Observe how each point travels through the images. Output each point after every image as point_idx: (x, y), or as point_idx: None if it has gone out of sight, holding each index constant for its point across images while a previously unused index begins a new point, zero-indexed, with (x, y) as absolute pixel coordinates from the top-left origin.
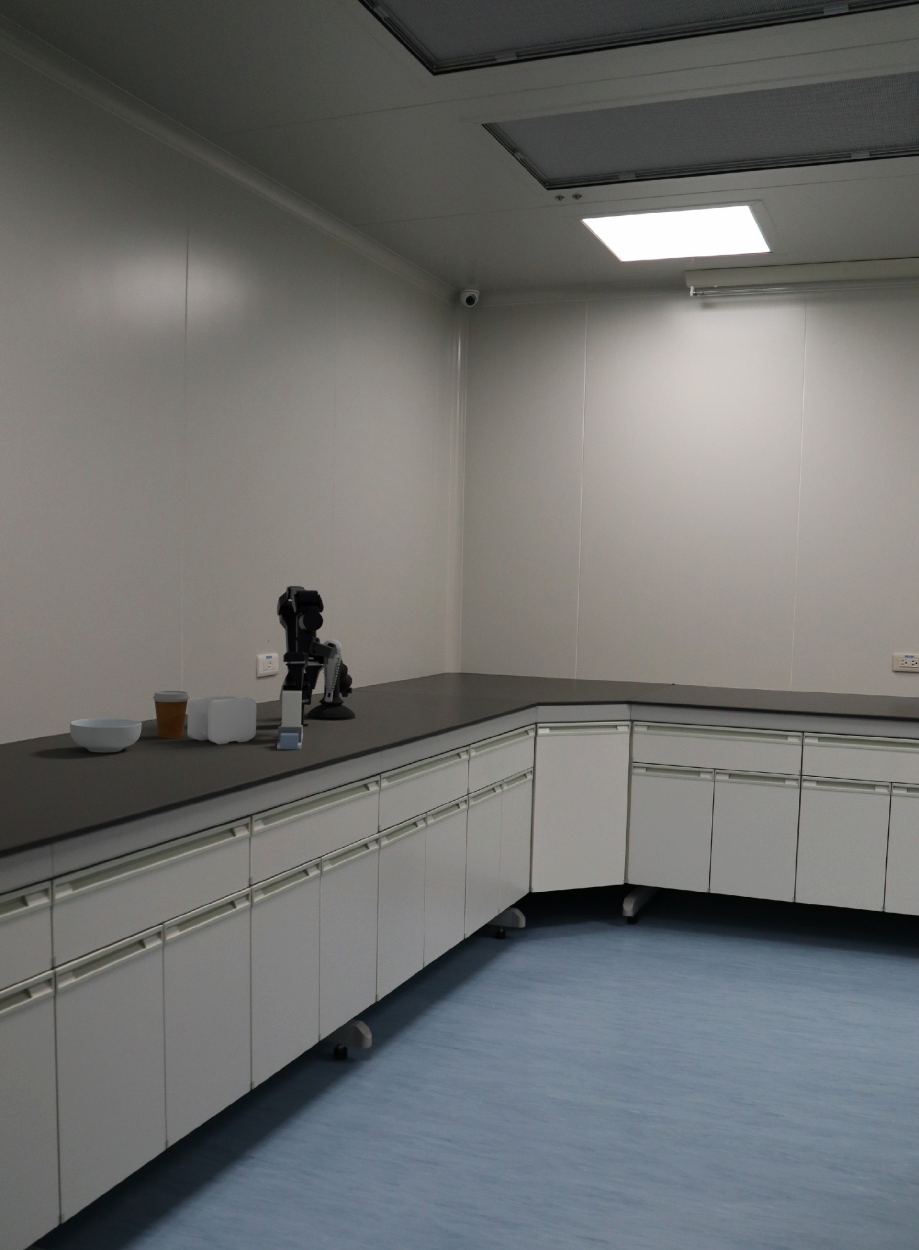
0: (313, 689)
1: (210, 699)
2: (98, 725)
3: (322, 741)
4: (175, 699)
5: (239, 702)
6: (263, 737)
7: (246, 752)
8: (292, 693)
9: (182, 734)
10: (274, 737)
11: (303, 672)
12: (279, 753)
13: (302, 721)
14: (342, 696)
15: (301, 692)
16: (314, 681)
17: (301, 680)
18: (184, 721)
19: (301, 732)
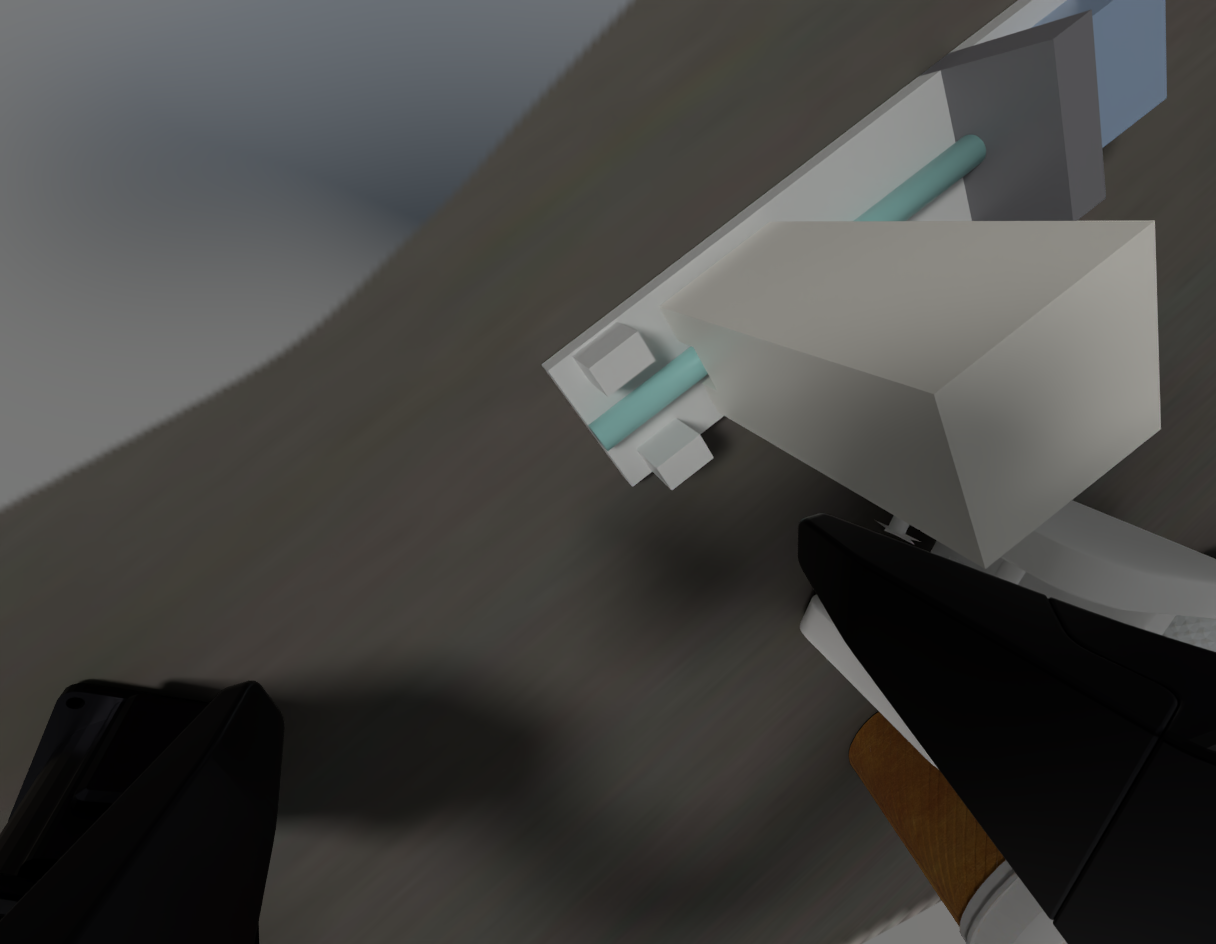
0: (257, 686)
1: None
2: None
3: (699, 34)
4: None
5: (1174, 564)
6: (743, 491)
7: (1162, 216)
8: (1145, 327)
9: (883, 718)
10: (713, 447)
11: (1128, 675)
12: (1179, 23)
13: (136, 710)
14: None
15: (1034, 304)
16: (186, 828)
17: (955, 568)
18: (920, 764)
19: (1046, 23)
